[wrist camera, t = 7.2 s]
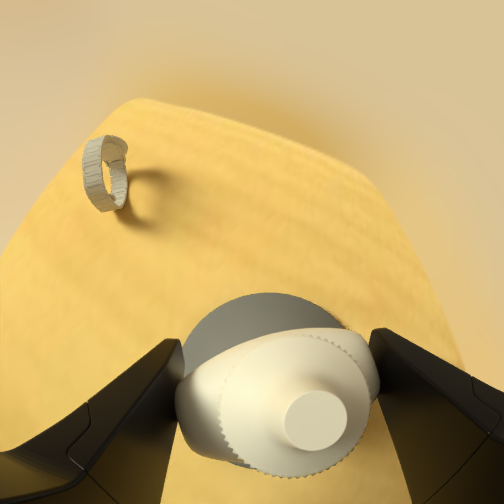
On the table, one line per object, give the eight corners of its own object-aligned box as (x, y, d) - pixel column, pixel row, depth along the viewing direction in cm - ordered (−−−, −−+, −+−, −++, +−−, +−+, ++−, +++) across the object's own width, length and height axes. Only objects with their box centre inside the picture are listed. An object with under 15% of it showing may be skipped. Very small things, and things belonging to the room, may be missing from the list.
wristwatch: (137, 165, 21) (116, 118, 17) (134, 218, 19) (105, 174, 15) (105, 173, 21) (79, 130, 17) (98, 226, 19) (64, 186, 15)
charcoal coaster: (387, 353, 15) (391, 352, 15) (290, 494, 12) (291, 498, 12) (246, 263, 18) (246, 259, 17) (144, 397, 15) (140, 397, 14)
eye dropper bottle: (222, 335, 15) (133, 200, 4) (330, 356, 14) (503, 274, 3) (202, 416, 13) (56, 497, 2) (313, 437, 12) (457, 546, 2)
